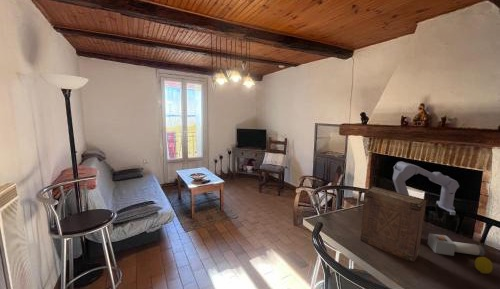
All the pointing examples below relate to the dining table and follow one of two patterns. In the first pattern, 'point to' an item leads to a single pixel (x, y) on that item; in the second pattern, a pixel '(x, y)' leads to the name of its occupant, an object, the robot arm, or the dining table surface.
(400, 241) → the book
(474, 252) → the block
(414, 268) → the dining table surface
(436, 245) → the housing
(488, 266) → the lemon
